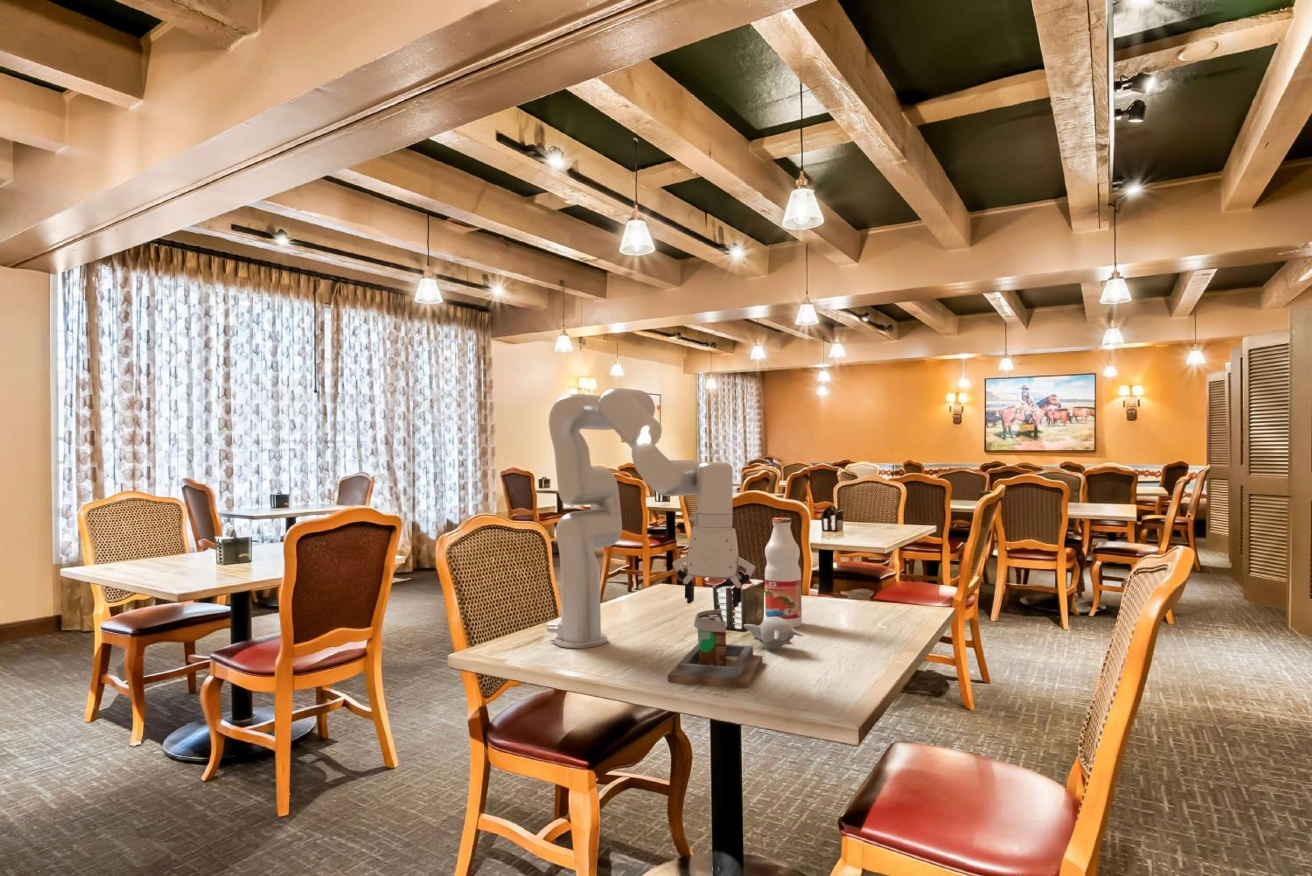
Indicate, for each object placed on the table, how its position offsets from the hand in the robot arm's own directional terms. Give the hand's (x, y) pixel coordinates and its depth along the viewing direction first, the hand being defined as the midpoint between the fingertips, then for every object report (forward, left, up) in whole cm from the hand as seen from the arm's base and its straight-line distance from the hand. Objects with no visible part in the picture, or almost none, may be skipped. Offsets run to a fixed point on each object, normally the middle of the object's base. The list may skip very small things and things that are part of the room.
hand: (712, 604), depth 151 cm
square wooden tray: (+1, 0, -14) cm, 14 cm away
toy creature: (+9, +22, -14) cm, 28 cm away
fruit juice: (+9, +46, -14) cm, 49 cm away
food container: (-1, 0, -13) cm, 13 cm away
